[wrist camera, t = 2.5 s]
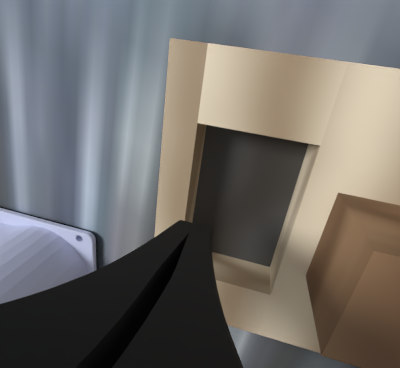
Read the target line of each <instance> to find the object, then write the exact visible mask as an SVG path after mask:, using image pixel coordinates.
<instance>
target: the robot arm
mask: <svg viewBox="0 0 400 368" xmlns="http://www.w3.org/2000/svg"><path fill="white" fill-rule="evenodd" d="M213 235H214V230H213V228H211V227H207V226H203V225H199V224H195V223H191V222H187V221H183V220H179V221H177V222H176V223H174V224H173V225H172V226H170V227H169V228H167V229H166V230H165V231H163V232H162V233H160V234H159V235H157V236H156V237H154V238H153V239H151V240H150V241H148V242H147V243H145V244H144V245H142V246H140V247H139V248H137V249H135V250H134V251H132V252H130V253H129V254H127V255H125V256H123V257H122V258H120V259H118V260H116V261H114V262H112V263H110V264H108V265H106V266H104V267H102V268H100V269H98V270H97V268H96V239H95V236H94V235H93V234H92V233H91V232H88V231H85V230H81V229H77V228H74V227H70V226H66V225H62V224H59V223H55V222H51V221H48V220H44V219H40V218H36V217H33V216H29V215H25V214H22V213H18V212H14V211H10V210H7V209H3V208H0V368H243V366H242V363H241V361H240V358H239V356H238V353H237V350H236V348H235V345H234V342H233V340H232V337H231V335H230V332H229V329H228V326H227V322H226V319H225V316H224V313H223V309H222V306H221V302H220V298H219V294H218V289H217V284H216V279H215V273H214V266H213V257H212V241H213ZM80 236H81V237H82V238H81V237H80Z"/></svg>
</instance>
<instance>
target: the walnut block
mask: <svg viewBox="0 0 400 368" xmlns="http://www.w3.org/2000/svg"><path fill="white" fill-rule="evenodd" d="M306 281H307V286H308V291H309V296H310V301H311V306H312V311H313V316H314V322H315V327H316V332H317V337H318V342H319V347H320V352H321V356H324V357H328V358H331V359H334V360H337V361H341V362H344V363H347V364H351V365H354V366H357V367H360V368H400V205H396V204H391V203H386V202H381V201H376V200H372V199H367V198H362V197H357V196H352V195H348V194H343V193H338V194H337V197H336V199H335V202H334V204H333V207H332V209H331V212H330V215H329V217H328V220H327V222H326V225H325V227H324V230H323V232H322V235H321V238H320V240H319V243H318V245H317V248H316V250H315V253H314V255H313V258H312V261H311V263H310V266H309V268H308V271H307V273H306Z"/></svg>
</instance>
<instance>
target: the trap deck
mask: <svg viewBox="0 0 400 368" xmlns="http://www.w3.org/2000/svg"><path fill="white" fill-rule="evenodd" d="M338 193H343V194H348V195H352V196H357V197H362V198H367V199H372V200H376V201H381V202H386V203H391V204H396V205H400V69H396V68H389V67H381V66H374V65H366V64H359V63H352V62H344V61H337V60H329V59H322V58H314V57H307V56H300V55H292V54H285V53H277V52H270V51H262V50H255V49H247V48H240V47H233V46H225V45H218V44H210V43H203V42H195V41H188V40H181V39H173V38H170V44H169V57H168V70H167V83H166V96H165V109H164V121H163V134H162V147H161V160H160V173H159V185H158V198H157V211H156V224H155V237H156V236H157V235H159V234H160V233H162V232H163V231H165V230H166V229H167V228H169V227H170V226H172V225H173V224H174V223H176V222H177V221H179V220H183V221H187V222H191V223H195V224H199V225H203V226H207V227H211V228H213V230H214V235H213V241H212V257H213V266H214V273H215V279H216V284H217V289H218V294H219V298H220V302H221V306H222V309H223V313H224V316H225V319H226V322H227V325H229V326H232V327H236V328H239V329H242V330H245V331H249V332H252V333H255V334H259V335H262V336H265V337H269V338H272V339H275V340H278V341H282V342H285V343H288V344H292V345H295V346H298V347H302V348H305V349H308V350H311V351H315V352H318V353H321V352H320V347H319V342H318V337H317V332H316V327H315V322H314V316H313V311H312V306H311V301H310V296H309V291H308V286H307V281H306V273H307V271H308V268H309V266H310V263H311V261H312V258H313V255H314V253H315V250H316V248H317V245H318V243H319V240H320V238H321V235H322V232H323V230H324V227H325V225H326V222H327V220H328V217H329V215H330V212H331V209H332V207H333V204H334V202H335V199H336V197H337V194H338Z"/></svg>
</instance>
